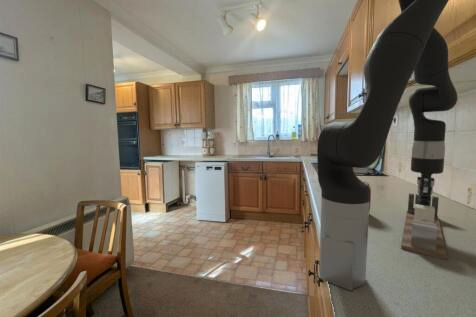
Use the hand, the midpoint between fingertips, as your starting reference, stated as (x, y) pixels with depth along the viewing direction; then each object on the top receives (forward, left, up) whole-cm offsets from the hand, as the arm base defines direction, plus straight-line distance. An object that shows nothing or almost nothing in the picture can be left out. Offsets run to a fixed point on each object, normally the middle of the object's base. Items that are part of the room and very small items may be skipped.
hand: (423, 212), depth 70 cm
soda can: (+9, +19, -7) cm, 22 cm away
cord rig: (+2, 0, -7) cm, 7 cm away
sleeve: (-4, 0, -4) cm, 6 cm away
